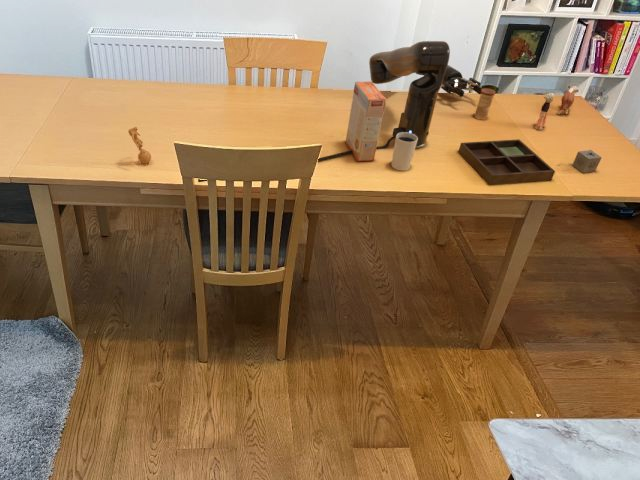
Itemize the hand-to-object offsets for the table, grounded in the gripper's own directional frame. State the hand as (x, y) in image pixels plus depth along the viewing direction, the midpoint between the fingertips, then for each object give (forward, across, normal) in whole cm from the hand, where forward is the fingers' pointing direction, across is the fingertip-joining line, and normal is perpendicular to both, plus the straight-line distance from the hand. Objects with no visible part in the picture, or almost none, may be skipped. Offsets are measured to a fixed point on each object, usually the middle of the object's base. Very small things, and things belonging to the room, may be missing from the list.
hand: (472, 93), depth 218 cm
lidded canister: (+8, 0, -6) cm, 10 cm away
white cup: (+31, +49, -6) cm, 58 cm away
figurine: (+5, +126, -6) cm, 127 cm away
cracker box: (+18, +57, -6) cm, 60 cm away
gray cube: (+50, -9, -6) cm, 51 cm away
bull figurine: (+12, -36, -6) cm, 38 cm away
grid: (+40, +16, -6) cm, 44 cm away
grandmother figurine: (+20, -16, -6) cm, 27 cm away
